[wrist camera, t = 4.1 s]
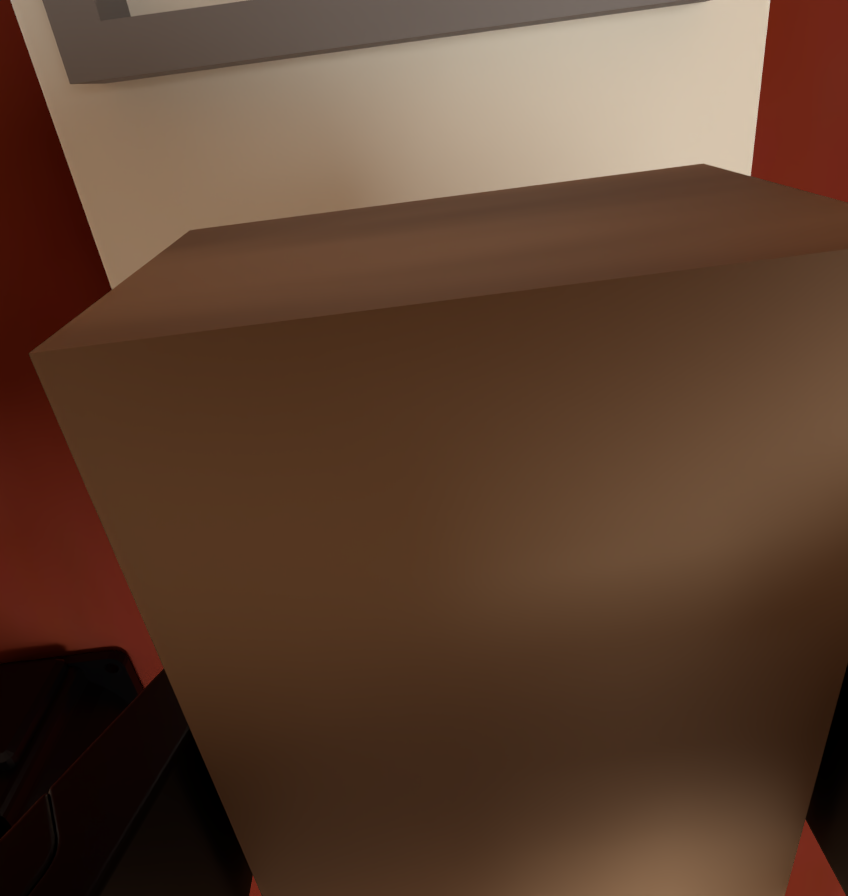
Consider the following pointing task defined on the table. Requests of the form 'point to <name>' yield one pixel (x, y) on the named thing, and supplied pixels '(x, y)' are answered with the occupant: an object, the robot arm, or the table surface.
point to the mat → (377, 102)
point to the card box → (490, 527)
